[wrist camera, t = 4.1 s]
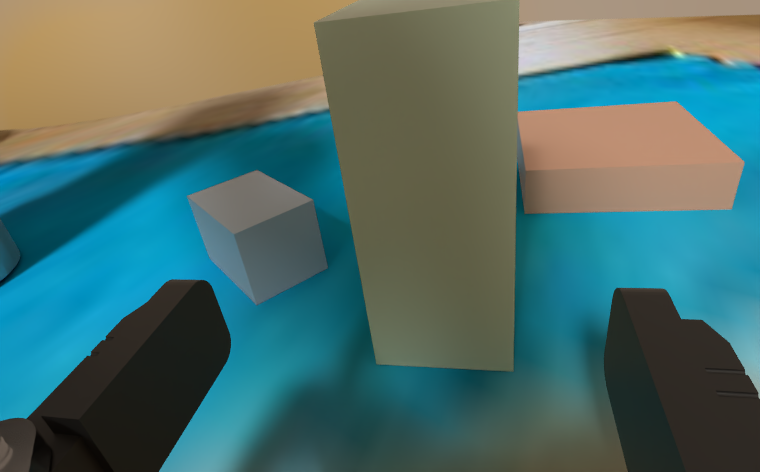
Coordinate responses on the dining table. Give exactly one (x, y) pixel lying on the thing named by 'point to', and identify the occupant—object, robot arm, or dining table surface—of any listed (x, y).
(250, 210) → the light gray block
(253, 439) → the dining table surface
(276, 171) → the dining table surface
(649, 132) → the terracotta base brick
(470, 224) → the sage tower brick
